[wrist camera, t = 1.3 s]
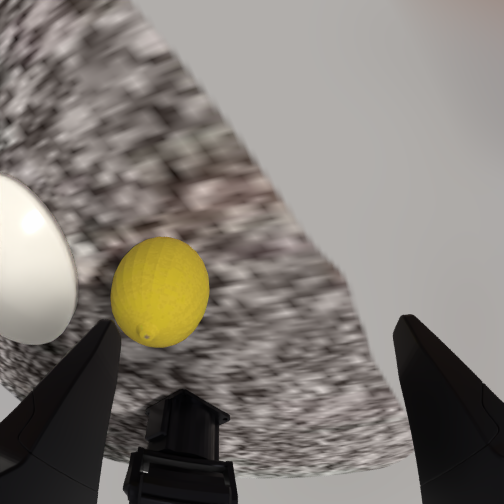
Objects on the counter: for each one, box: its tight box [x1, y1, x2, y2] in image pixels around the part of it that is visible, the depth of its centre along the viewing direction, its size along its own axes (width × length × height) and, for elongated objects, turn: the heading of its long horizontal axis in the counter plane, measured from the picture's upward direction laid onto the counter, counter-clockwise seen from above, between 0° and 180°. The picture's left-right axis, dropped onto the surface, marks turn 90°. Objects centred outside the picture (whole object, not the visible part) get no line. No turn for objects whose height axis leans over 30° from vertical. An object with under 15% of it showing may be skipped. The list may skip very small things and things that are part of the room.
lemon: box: [111, 237, 209, 348], centre depth 18 cm, size 6×6×8 cm
